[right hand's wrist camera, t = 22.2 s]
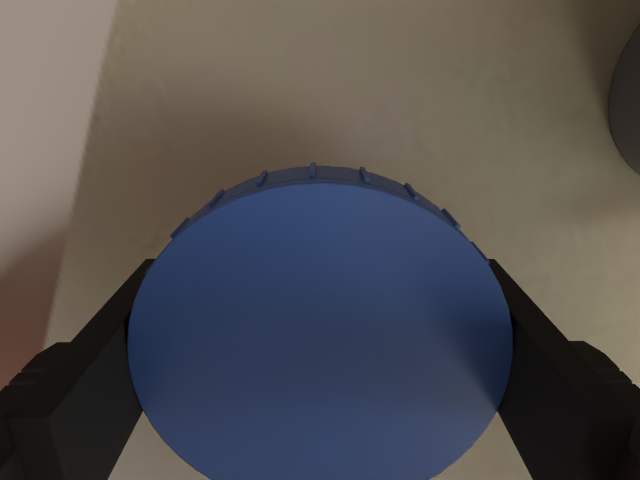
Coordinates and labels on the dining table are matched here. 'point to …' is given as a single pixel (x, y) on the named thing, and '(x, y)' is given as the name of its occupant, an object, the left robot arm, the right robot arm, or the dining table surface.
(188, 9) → the dining table surface
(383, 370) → the lid
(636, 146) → the jar
